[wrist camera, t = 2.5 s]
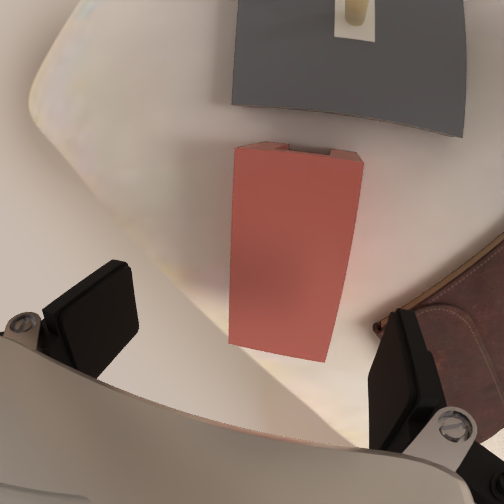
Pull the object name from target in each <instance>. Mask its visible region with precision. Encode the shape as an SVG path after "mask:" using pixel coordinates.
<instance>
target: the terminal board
mask: <svg viewBox="0 0 504 504" xmlns="http://www.w3.org/2000/svg"><path fill="white" fill-rule="evenodd" d="M465 101H466V32H465V18H464V7H463V0H239V1H238V14H237V27H236V41H235V56H234V71H233V88H232V105H237V106H242V107H264V108H280V109H293V110H304V111H314V112H323V113H331V114H339V115H346V116H353V117H360V118H366V119H372V120H378V121H383V122H389V123H394V124H399V125H404V126H408V127H413V128H418V129H422V130H426V131H430V132H434V133H439V134H442V135H446V136H450V137H458V138H462V137H463V128H464V116H465Z"/></svg>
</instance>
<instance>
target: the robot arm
mask: <svg viewBox="0 0 504 504" xmlns="http://www.w3.org/2000/svg"><path fill="white" fill-rule="evenodd" d="M42 311H43V315H44V319H43V320H42V321H41V318H40V316H39V315H38V314H36V313H33V312H25V313H20V314H18V315H16V316H14V317H13V318H11V319H10V320H9V321H8V323H7V325H6V328H5V331H4V332H0V504H504V461H503V460H501V459H500V458H498V457H497V456H496V455H494V454H493V453H491V452H490V451H489V450H487V449H486V448H485V447H483V446H482V445H481V444H479V443H478V442H476V441H475V438H476V435H477V425H476V423H475V420H474V419H473V418H472V416H471V415H470V414H469V413H467V412H466V411H465V410H463V409H461V408H457V407H447V404H446V400H445V396H444V392H443V389H442V385H441V381H440V378H439V374H438V371H437V368H436V364H435V361H434V358H433V355H432V353H431V352H430V351H428V350H427V348H426V344H425V341H424V338H423V335H422V332H421V329H420V326H419V323H418V320H417V317H416V315H415V312H414V310H407V309H400V308H398V309H397V310H396V312H391V313H390V315H389V318H388V321H387V324H386V327H385V330H384V333H383V336H382V339H381V342H380V345H379V347H378V350H377V353H376V356H375V358H374V361H373V364H372V366H371V369H370V372H369V375H368V398H369V449H366V448H359V447H350V446H340V445H333V444H325V443H319V442H313V441H306V440H301V439H295V438H289V437H283V436H278V435H272V434H268V433H262V432H258V431H253V430H249V429H245V428H241V427H237V426H232V425H229V424H225V423H221V422H217V421H213V420H209V419H206V418H203V417H199V416H196V415H192V414H189V413H186V412H183V411H179V410H176V409H174V408H170V407H167V406H165V405H162V404H158V403H156V402H153V401H150V400H147V399H145V398H142V397H139V396H136V395H134V394H131V393H129V392H126V391H124V390H121V389H119V388H116V387H114V386H111V385H109V384H107V383H104V382H102V381H100V380H97V377H98V376H99V375H100V374H101V373H102V372H103V371H104V370H105V368H106V367H107V366H108V365H109V364H110V363H111V362H112V360H113V359H114V358H115V357H116V356H117V355H118V353H120V351H121V350H122V349H123V348H124V347H125V346H126V345H127V344H128V343H129V341H130V340H131V339H132V338H133V337H134V336H135V335H136V333H137V332H138V329H139V322H138V315H137V309H136V303H135V295H134V287H133V280H132V271H131V268H130V267H129V266H128V264H127V263H126V262H123V261H118V260H111V261H109V262H108V263H106V264H105V265H103V266H102V267H101V268H99V269H98V270H96V271H95V272H93V273H92V274H90V275H89V276H88V277H86V278H85V279H84V280H82V281H80V282H79V283H78V284H76V285H75V286H73V287H72V288H71V289H69V290H68V291H67V292H65V293H64V294H62V295H61V296H60V297H59V298H57V299H56V300H54V301H53V302H52V303H50V304H49V305H48V306H46V307H45V308H44V309H42Z"/></svg>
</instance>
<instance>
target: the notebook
mask: <svg viewBox="0 0 504 504" xmlns="http://www.w3.org/2000/svg"><path fill="white" fill-rule="evenodd" d="M400 309H407V310H414V312H415V315H416V317H417V320H418V323H419V326H420V329H421V332H422V335H423V338H424V341H425V344H426V348H427V350H428V351H430V352H431V353H432V355H433V358H434V361H435V364H436V368H437V371H438V374H439V378H440V381H441V385H442V389H443V392H444V396H445V400H446V404H447V407H457V408H461V409H463V410H465V411H466V412H467V413H469V414H470V415H471V416H472V418H473V419H474V420H475V423H476V425H477V435H476V438H475V441H476V442H478V443H479V444H480V443H482V442H484V441H486V440H487V439H489V438H491V437H492V436H493V435H495V434H496V433H497V432H498V431H500V430H501V429H503V428H504V232H503V233H502V234H501V235H499V236H498V237H497V238H496V239H495V240H494V241H492V242H491V243H490V244H489V245H487V246H486V247H485V248H484V249H482V250H481V251H480V252H479V253H477V254H476V255H475V256H474V257H472V258H471V259H470V260H469V261H467V262H466V263H465V264H463V265H462V266H461V267H459V268H458V269H457V270H455V271H454V272H453V273H451V274H450V275H449V276H447V277H446V278H444V279H443V280H442V281H440V282H439V283H437V284H436V285H435V286H433V287H432V288H430V289H429V290H427V291H426V292H424V293H423V294H422V295H420V296H419V297H417V298H416V299H414V300H413V301H411V302H410V303H408V304H407V305H405V306H404V307H402V308H400ZM388 318H389V316H388V317H386V318H385V319H383V320H381V327H380V326H379V325H378V324H377V323H374V324H373V331H374V332H375V333H376V335H377V336H378V337H379V338H380V340H381V339H382V336H383V333H384V330H385V327H386V324H387V321H388ZM381 328H382V329H381Z"/></svg>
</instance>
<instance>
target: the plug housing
mask: <svg viewBox="0 0 504 504" xmlns="http://www.w3.org/2000/svg"><path fill="white" fill-rule="evenodd" d="M363 166H364V162H363V161H362V159H361V158H360V157H359V155H358V154H357V153H356V152H350V151H343V150H336V149H331V152H330V155H323V154H315V153H307V152H298V151H289V144H286V143H275V142H260V143H256V144H251V145H246V146H242V147H237V148H235V156H234V178H233V202H232V229H231V259H230V296H229V344H233V345H237V346H242V347H246V348H251V349H255V350H260V351H265V352H270V353H275V354H280V355H285V356H290V357H295V358H301V359H306V360H312V361H318V362H324V363H325V360H326V356H327V352H328V349H329V345H330V341H331V337H332V333H333V329H334V325H335V321H336V316H337V312H338V308H339V303H340V299H341V295H342V290H343V285H344V281H345V276H346V271H347V266H348V261H349V255H350V250H351V245H352V239H353V233H354V228H355V222H356V216H357V209H358V203H359V196H360V189H361V182H362V174H363Z"/></svg>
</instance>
